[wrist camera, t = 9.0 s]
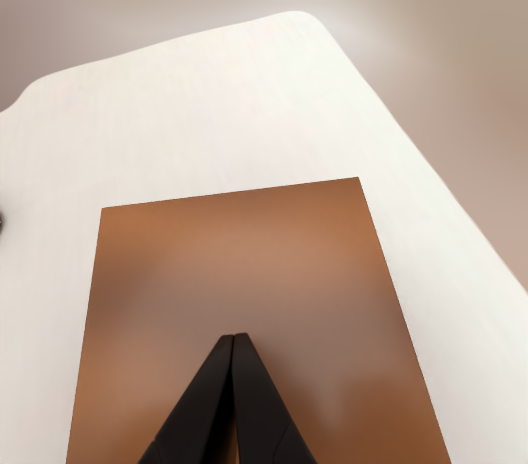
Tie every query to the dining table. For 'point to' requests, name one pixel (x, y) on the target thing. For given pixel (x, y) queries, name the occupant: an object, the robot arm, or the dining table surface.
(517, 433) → the dining table surface
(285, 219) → the bin lid
